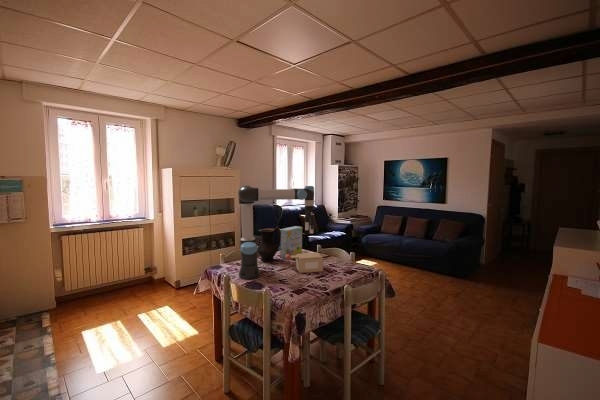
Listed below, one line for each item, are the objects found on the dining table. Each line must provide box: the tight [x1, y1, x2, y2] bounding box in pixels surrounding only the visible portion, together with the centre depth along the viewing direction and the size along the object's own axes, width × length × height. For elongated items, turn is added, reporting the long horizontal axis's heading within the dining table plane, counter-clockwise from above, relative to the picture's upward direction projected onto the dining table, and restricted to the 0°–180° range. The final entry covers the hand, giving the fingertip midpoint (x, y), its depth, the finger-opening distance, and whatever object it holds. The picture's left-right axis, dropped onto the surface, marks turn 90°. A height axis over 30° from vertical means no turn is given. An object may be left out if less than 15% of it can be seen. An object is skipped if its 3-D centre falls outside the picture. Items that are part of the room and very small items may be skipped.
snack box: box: [279, 225, 303, 260], centre depth 256 cm, size 22×9×26 cm, turn 143°
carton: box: [295, 258, 324, 274], centre depth 221 cm, size 18×14×10 cm
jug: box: [257, 226, 281, 263], centre depth 241 cm, size 21×18×30 cm
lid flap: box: [285, 252, 324, 262], centre depth 220 cm, size 27×13×4 cm, turn 103°
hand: (309, 231), depth 229 cm, fingers open, 13 cm apart
